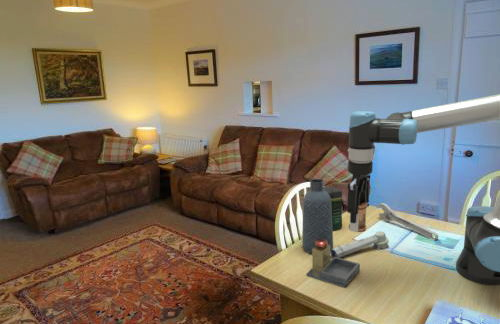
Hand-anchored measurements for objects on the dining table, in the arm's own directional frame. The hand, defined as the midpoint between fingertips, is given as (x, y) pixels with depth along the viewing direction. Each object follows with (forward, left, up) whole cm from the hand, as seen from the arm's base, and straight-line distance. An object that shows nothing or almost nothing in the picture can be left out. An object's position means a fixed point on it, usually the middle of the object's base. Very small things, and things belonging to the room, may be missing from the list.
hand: (357, 227), depth 121 cm
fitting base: (+7, +3, -18) cm, 19 cm away
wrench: (-4, -47, -18) cm, 51 cm away
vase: (+20, -11, -18) cm, 29 cm away
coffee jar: (+24, -33, -18) cm, 45 cm away
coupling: (0, 0, 0) cm, 0 cm away
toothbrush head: (+5, -17, -18) cm, 26 cm away
